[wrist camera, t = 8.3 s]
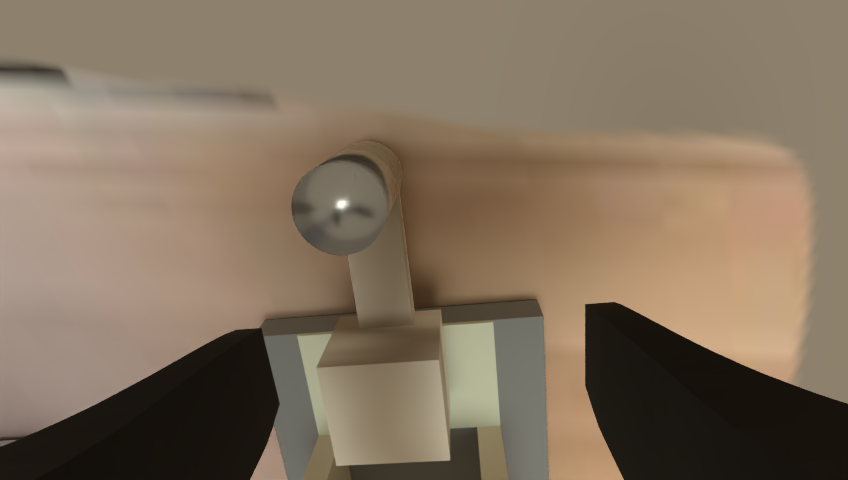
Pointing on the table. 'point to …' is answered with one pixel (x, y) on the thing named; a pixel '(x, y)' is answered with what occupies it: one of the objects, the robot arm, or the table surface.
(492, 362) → the tunnel deck
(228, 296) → the table surface
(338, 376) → the sliding block with knob
